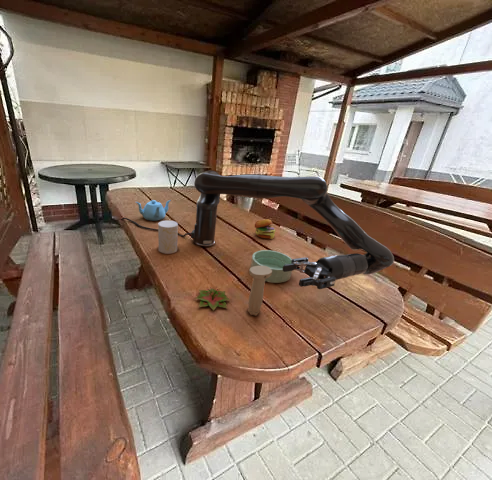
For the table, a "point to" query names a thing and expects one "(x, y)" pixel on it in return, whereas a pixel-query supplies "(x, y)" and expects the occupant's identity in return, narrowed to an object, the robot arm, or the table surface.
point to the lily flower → (212, 298)
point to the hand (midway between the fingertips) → (291, 275)
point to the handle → (257, 287)
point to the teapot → (153, 210)
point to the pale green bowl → (273, 264)
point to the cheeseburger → (264, 229)
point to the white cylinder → (167, 236)
